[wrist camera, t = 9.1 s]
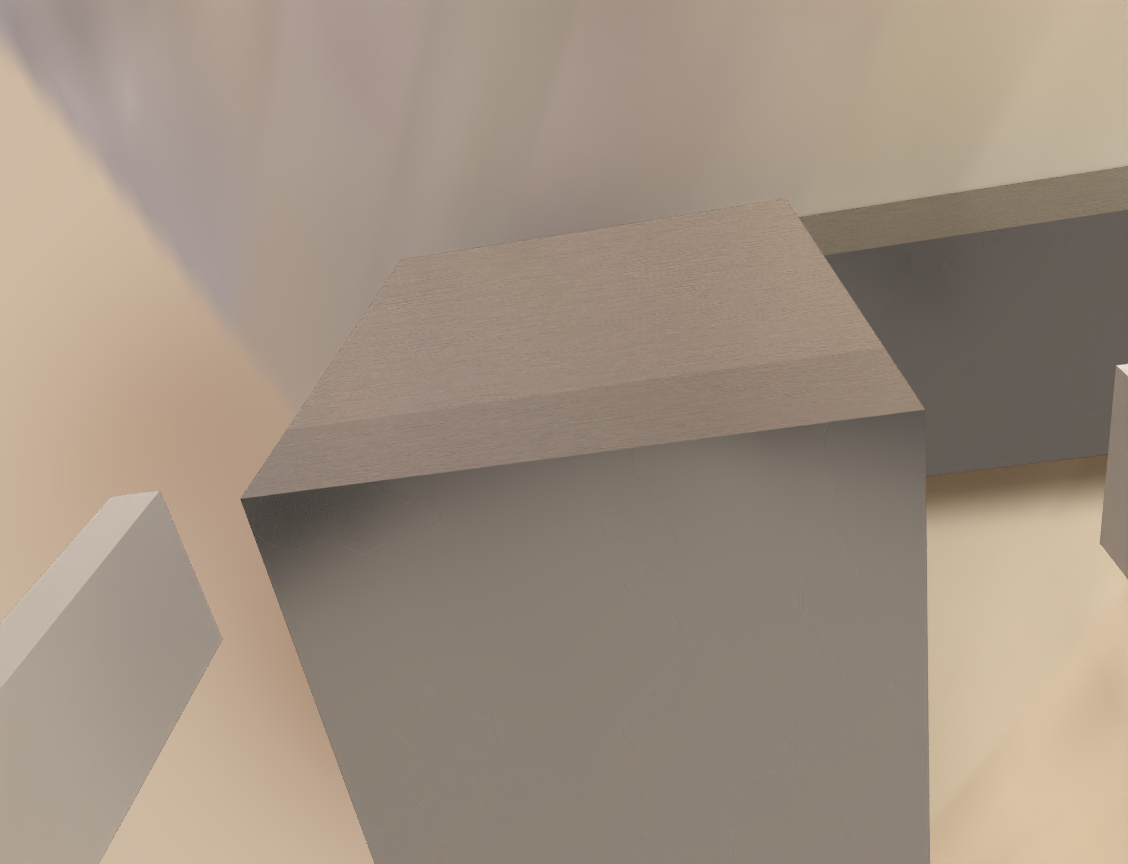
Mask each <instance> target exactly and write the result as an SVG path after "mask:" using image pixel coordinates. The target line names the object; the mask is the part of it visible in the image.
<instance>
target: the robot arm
mask: <svg viewBox="0 0 1128 864" xmlns="http://www.w3.org/2000/svg"><path fill="white" fill-rule="evenodd" d="M1100 544H1101V545H1102V546H1103V548H1104V549H1105V550H1106V552H1107V553H1108V554H1109V556H1110V557H1111V558H1112V559H1113V561H1114V562H1115V563H1116V565H1117V566H1118V567H1119V568H1120V570H1121V571H1122V572H1123V574H1124V575H1125V576H1126V577H1127V579H1128V364H1123V365H1116V371H1115V382H1114V393H1113V404H1112V415H1111V426H1110V437H1109V448H1108V459H1107V470H1106V481H1105V492H1104V503H1103V514H1102V525H1101V536H1100ZM221 640H222V637H221V635H220V632H219V630H218V627H217V625H216V623H215V620H214V618H213V615H212V613H211V611H210V608H209V606H208V604H207V601H206V599H205V596H204V594H203V592H202V589H201V587H200V585H199V582H198V580H197V577H196V575H195V572H194V570H193V568H192V565H191V563H190V561H189V559H188V556H187V553H186V551H185V549H184V546H183V544H182V542H181V539H180V537H179V534H178V532H177V530H176V527H175V525H174V522H173V520H172V518H171V515H170V513H169V510H168V508H167V506H166V503H165V501H164V499H163V496H162V494H161V492H160V490H159V491H151V492H143V493H136V494H128V495H120V496H112V497H110V498H109V500H108V501H107V502H106V503H105V504H104V505H103V506H102V507H101V509H100V510H99V511H98V512H97V513H96V514H95V515H94V516H93V518H92V519H91V520H90V521H89V522H88V523H87V525H86V526H85V527H84V528H83V529H82V530H81V531H80V532H79V534H78V535H77V536H76V537H75V538H74V539H73V540H72V541H71V543H70V544H69V545H68V546H67V547H66V548H65V549H64V550H63V552H62V553H61V554H60V555H59V556H58V557H57V558H56V560H55V561H54V562H53V563H52V564H51V565H50V566H49V567H48V569H47V570H46V571H45V572H44V573H43V574H42V575H41V577H40V578H39V579H38V580H37V581H36V582H35V583H34V585H33V586H32V587H31V588H30V589H29V590H28V591H27V592H26V594H25V595H24V596H23V597H22V598H21V599H20V600H19V602H18V603H17V604H16V605H15V606H14V607H13V608H12V610H11V611H10V612H9V613H8V614H7V615H6V616H5V617H4V619H3V620H2V621H1V622H0V864H99V863H100V861H101V859H102V857H103V855H104V854H105V852H106V850H107V848H108V846H109V845H110V843H111V841H112V839H113V837H114V835H115V834H116V832H117V830H118V828H119V826H120V825H121V823H122V821H123V819H124V817H125V815H126V814H127V812H128V810H129V808H130V806H131V805H132V803H133V801H134V799H135V797H136V796H137V794H138V792H139V790H140V788H141V787H142V785H143V783H144V781H145V779H146V777H147V775H148V773H149V772H150V770H151V768H152V766H153V765H154V763H155V761H156V759H157V757H158V755H159V754H160V752H161V750H162V748H163V747H164V745H165V743H166V741H167V739H168V737H169V736H170V733H171V732H172V730H173V728H174V727H175V725H176V723H177V721H178V719H179V718H180V716H181V714H182V712H183V710H184V708H185V707H186V705H187V703H188V701H189V699H190V698H191V696H192V694H193V692H194V690H195V688H196V687H197V685H198V683H199V681H200V679H201V678H202V676H203V674H204V672H205V670H206V668H207V667H208V665H209V663H210V661H211V659H212V658H213V656H214V654H215V652H216V650H217V649H218V647H219V645H220V643H221Z"/></svg>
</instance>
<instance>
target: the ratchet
mask: <svg viewBox="0 0 1128 864" xmlns="http://www.w3.org/2000/svg"><path fill="white" fill-rule="evenodd" d="M799 219H800V220H801V222H802V224H803V225H804V227H805V228H806V230H807V231H808V233H809V234H810V236H811V237H812V239H813V240H814V242H815V243H816V245H817V246H818V248H819V249H820V251H821V252H822V254H823V255H824V257H825V258H826V260H827V261H828V263H829V264H830V266H831V268H832V269H833V271H834V272H835V274H836V275H837V277H838V278H839V280H840V281H841V283H842V284H843V286H844V287H845V289H846V290H847V292H848V293H849V295H850V296H851V298H852V299H853V301H854V302H855V304H856V305H857V307H858V308H859V310H860V311H861V313H862V315H863V316H864V318H865V319H866V321H867V322H868V324H869V325H870V327H871V328H872V330H873V331H874V333H875V334H876V336H877V337H878V339H879V340H880V342H881V343H882V345H883V346H884V348H885V349H886V351H887V352H888V354H889V355H890V357H891V358H892V360H893V362H894V363H895V365H896V366H897V368H898V369H899V371H900V372H901V374H902V375H903V377H904V378H905V380H906V381H907V383H908V384H909V386H910V387H911V389H912V390H913V392H914V393H915V395H916V396H917V398H918V399H919V401H920V402H921V404H922V406H923V407H924V409H925V445H926V476H934V475H942V474H950V473H958V472H966V471H974V470H982V469H991V468H999V467H1007V466H1015V465H1023V464H1031V463H1040V462H1048V461H1056V460H1064V459H1072V458H1080V457H1088V456H1097V455H1105V454H1108V448H1109V437H1110V426H1111V415H1112V404H1113V393H1114V382H1115V371H1116V365H1123V364H1128V166H1127V167H1121V168H1114V169H1108V170H1101V171H1095V172H1088V173H1082V174H1075V175H1069V176H1063V177H1056V178H1050V179H1043V180H1037V181H1030V182H1024V183H1018V184H1011V185H1005V186H998V187H992V188H985V189H979V190H972V191H966V192H960V193H953V194H947V195H940V196H934V197H927V198H921V199H915V200H908V201H902V202H895V203H889V204H882V205H876V206H870V207H863V208H857V209H850V210H844V211H837V212H831V213H824V214H818V215H812V216H805V217H799Z"/></svg>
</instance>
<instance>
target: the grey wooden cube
mask: <svg viewBox="0 0 1128 864" xmlns="http://www.w3.org/2000/svg"><path fill="white" fill-rule="evenodd" d="M241 502H242V504H243V507H244V510H245V513H246V515H247V518H248V521H249V523H250V526H251V529H252V532H253V534H254V537H255V540H256V543H257V545H258V548H259V551H260V553H261V556H262V559H263V562H264V564H265V567H266V569H267V572H268V575H269V578H270V580H271V583H272V586H273V589H274V591H275V594H276V597H277V599H278V602H279V605H280V608H281V610H282V613H283V616H284V619H285V621H286V624H287V627H288V629H289V632H290V635H291V637H292V640H293V643H294V645H295V648H296V651H297V654H298V656H299V659H300V662H301V664H302V667H303V670H304V673H305V675H306V678H307V681H308V684H309V686H310V689H311V692H312V695H313V697H314V700H315V703H316V705H317V708H318V711H319V714H320V716H321V719H322V722H323V724H324V727H325V730H326V733H327V735H328V738H329V741H330V743H331V746H332V749H333V751H334V754H335V757H336V759H337V762H338V765H339V768H340V771H341V773H342V776H343V779H344V781H345V784H346V787H347V790H348V792H349V795H350V798H351V801H352V803H353V806H354V809H355V811H356V814H357V817H358V819H359V822H360V825H361V828H362V830H363V833H364V836H365V839H366V841H367V844H368V846H369V849H370V852H371V855H372V858H373V860H374V863H375V864H930V828H929V732H928V637H927V541H926V445H925V409H924V407H923V406H922V404H921V402H920V401H919V399H918V398H917V396H916V395H915V393H914V392H913V390H912V389H911V387H910V386H909V384H908V383H907V381H906V380H905V378H904V377H903V375H902V374H901V372H900V371H899V369H898V368H897V366H896V365H895V363H894V362H893V360H892V358H891V357H890V355H889V354H888V352H887V351H886V349H885V348H884V346H883V345H882V343H881V342H880V340H879V339H878V337H877V336H876V334H875V333H874V331H873V330H872V328H871V327H870V325H869V324H868V322H867V321H866V319H865V318H864V316H863V315H862V313H861V311H860V310H859V308H858V307H857V305H856V304H855V302H854V301H853V299H852V298H851V296H850V295H849V293H848V292H847V290H846V289H845V287H844V286H843V284H842V283H841V281H840V280H839V278H838V277H837V275H836V274H835V272H834V271H833V269H832V268H831V266H830V264H829V263H828V261H827V260H826V258H825V257H824V255H823V254H822V252H821V251H820V249H819V248H818V246H817V245H816V243H815V242H814V240H813V239H812V237H811V236H810V234H809V233H808V231H807V230H806V228H805V227H804V225H803V224H802V222H801V220H800V219H799V217H798V216H797V214H796V213H795V211H794V210H793V208H792V207H791V205H790V204H789V202H788V201H787V199H783V200H776V201H770V202H764V203H757V204H751V205H745V206H738V207H732V208H726V209H719V210H713V211H707V212H700V213H694V214H688V215H681V216H675V217H669V218H662V219H656V220H650V221H643V222H637V223H631V224H624V225H618V226H612V227H605V228H599V229H593V230H586V231H580V232H573V233H567V234H561V235H554V236H548V237H542V238H535V239H529V240H523V241H516V242H510V243H504V244H497V245H491V246H485V247H478V248H472V249H466V250H459V251H453V252H447V253H440V254H434V255H428V256H421V257H415V258H409V259H402V260H400V262H399V263H398V265H397V266H396V268H395V269H394V271H393V272H392V274H391V275H390V277H389V278H388V280H387V281H386V283H385V284H384V286H383V287H382V289H381V290H380V292H379V293H378V295H377V296H376V298H375V299H374V301H373V302H372V304H371V305H370V307H369V308H368V310H367V311H366V313H365V314H364V316H363V317H362V319H361V320H360V322H359V323H358V325H357V326H356V327H355V329H354V330H353V332H352V333H351V335H350V336H349V338H348V339H347V341H346V342H345V344H344V345H343V347H342V348H341V350H340V351H339V353H338V354H337V356H336V357H335V359H334V360H333V362H332V363H331V365H330V366H329V368H328V369H327V371H326V372H325V374H324V375H323V377H322V378H321V380H320V381H319V383H318V384H317V386H316V387H315V389H314V390H313V392H312V393H311V394H310V396H309V397H308V399H307V400H306V402H305V403H304V405H303V406H302V408H301V409H300V411H299V412H298V414H297V415H296V417H295V418H294V420H293V421H292V423H291V424H290V426H289V427H288V429H287V430H286V432H285V433H284V435H283V436H282V438H281V439H280V441H279V442H278V444H277V445H276V447H275V448H274V450H273V451H272V453H271V454H270V456H269V457H268V459H267V460H266V461H265V463H264V465H263V466H262V468H261V469H260V470H259V472H258V473H257V475H256V476H255V478H254V479H253V481H252V482H251V484H250V485H249V487H248V488H247V490H246V492H245V493H244V494H243V496H242V497H241Z"/></svg>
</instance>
